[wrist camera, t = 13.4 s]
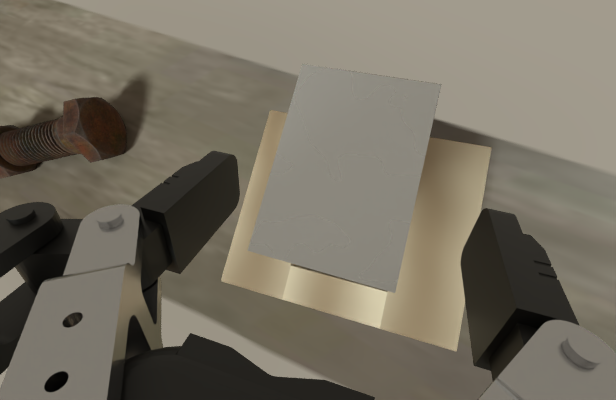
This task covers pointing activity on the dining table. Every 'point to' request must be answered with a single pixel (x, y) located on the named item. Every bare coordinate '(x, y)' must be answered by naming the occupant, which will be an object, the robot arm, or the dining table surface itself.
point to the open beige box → (416, 260)
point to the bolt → (64, 137)
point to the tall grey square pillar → (347, 174)
